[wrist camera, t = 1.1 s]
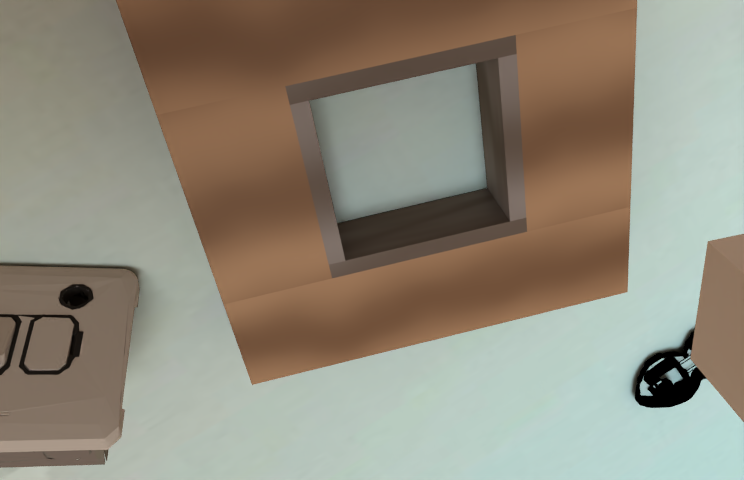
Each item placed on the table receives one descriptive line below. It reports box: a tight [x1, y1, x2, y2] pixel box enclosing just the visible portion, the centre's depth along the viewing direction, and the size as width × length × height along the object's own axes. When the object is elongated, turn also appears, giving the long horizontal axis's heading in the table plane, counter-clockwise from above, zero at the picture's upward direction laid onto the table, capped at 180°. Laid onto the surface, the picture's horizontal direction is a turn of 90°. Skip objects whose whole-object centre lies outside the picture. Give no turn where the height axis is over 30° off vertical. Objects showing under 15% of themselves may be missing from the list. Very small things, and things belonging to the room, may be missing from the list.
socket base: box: [116, 0, 637, 385], centre depth 33 cm, size 20×20×4 cm
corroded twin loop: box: [635, 331, 707, 408], centre depth 46 cm, size 5×8×1 cm, turn 129°
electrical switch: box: [0, 266, 139, 468], centre depth 32 cm, size 9×5×9 cm, turn 82°
